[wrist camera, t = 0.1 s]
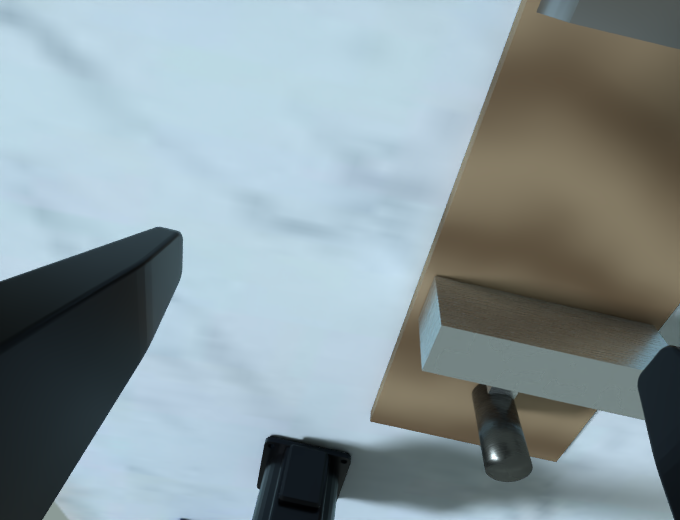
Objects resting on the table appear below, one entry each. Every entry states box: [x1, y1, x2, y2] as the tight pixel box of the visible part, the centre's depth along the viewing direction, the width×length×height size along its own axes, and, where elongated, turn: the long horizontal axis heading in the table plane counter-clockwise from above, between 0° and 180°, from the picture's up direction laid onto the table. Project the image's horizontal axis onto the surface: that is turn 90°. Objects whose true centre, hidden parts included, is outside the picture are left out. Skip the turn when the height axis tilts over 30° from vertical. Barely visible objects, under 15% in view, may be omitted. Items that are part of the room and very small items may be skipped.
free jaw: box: [418, 276, 668, 482], centre depth 25 cm, size 9×12×5 cm
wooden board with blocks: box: [370, 0, 680, 462], centre depth 22 cm, size 28×13×5 cm, turn 169°
